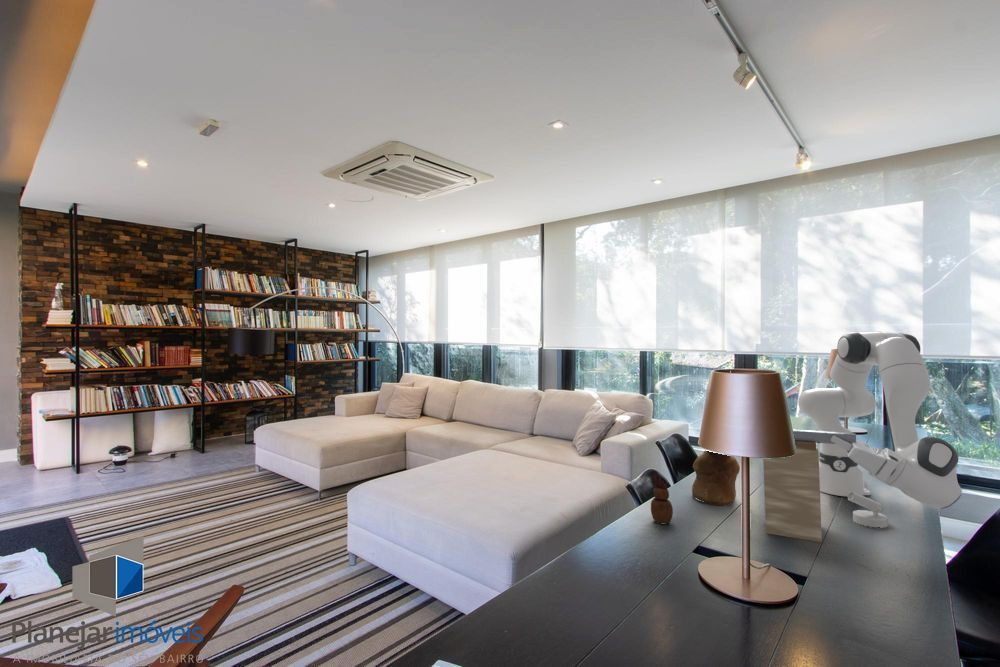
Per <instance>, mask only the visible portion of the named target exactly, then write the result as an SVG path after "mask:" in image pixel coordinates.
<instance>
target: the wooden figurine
mask: <svg viewBox="0 0 1000 667" xmlns="http://www.w3.org/2000/svg"><path fill="white" fill-rule="evenodd" d="M661 479H662V478H661V476H658V478H657V475H656V474H654V488H653V492H652V493H653V498H652V500H651V502H650V512H651V516H652V519H653V520H654V522H656V523H657V522H659V523H668V524H669V523H671V521H672V518H673V514H674V509H673V505H672V502H671V501H670V500H669V498H670V491H669V489H668V487H667V483H666V482H665V483H664V480H661ZM659 523H658V524H659Z"/></svg>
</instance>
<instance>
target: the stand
mask: <svg viewBox="0 0 1000 667" xmlns="http://www.w3.org/2000/svg"><path fill="white" fill-rule="evenodd" d="M795 445H796V450H797V453H796V454H795V455H794V456H791V457H785V458H771V459H763V458H762V460H763V462H762V463H763V464H762V465H763V491H764V494H763V495H764V517H765V518H764V520H765V534H770V535H776V536H781V537H782V536H783V537H788V538H789V537H790V538H793V539H794V538H795V539H800V540H806V541H812V542H818V543H822V542H823V539H822V538H823V537H822V536H823V535H822V512H821V511H822V510H821V491H820V478H819V464H820V461H819V452H820V451H819V446H818V443H815V442H801V441H795Z"/></svg>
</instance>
